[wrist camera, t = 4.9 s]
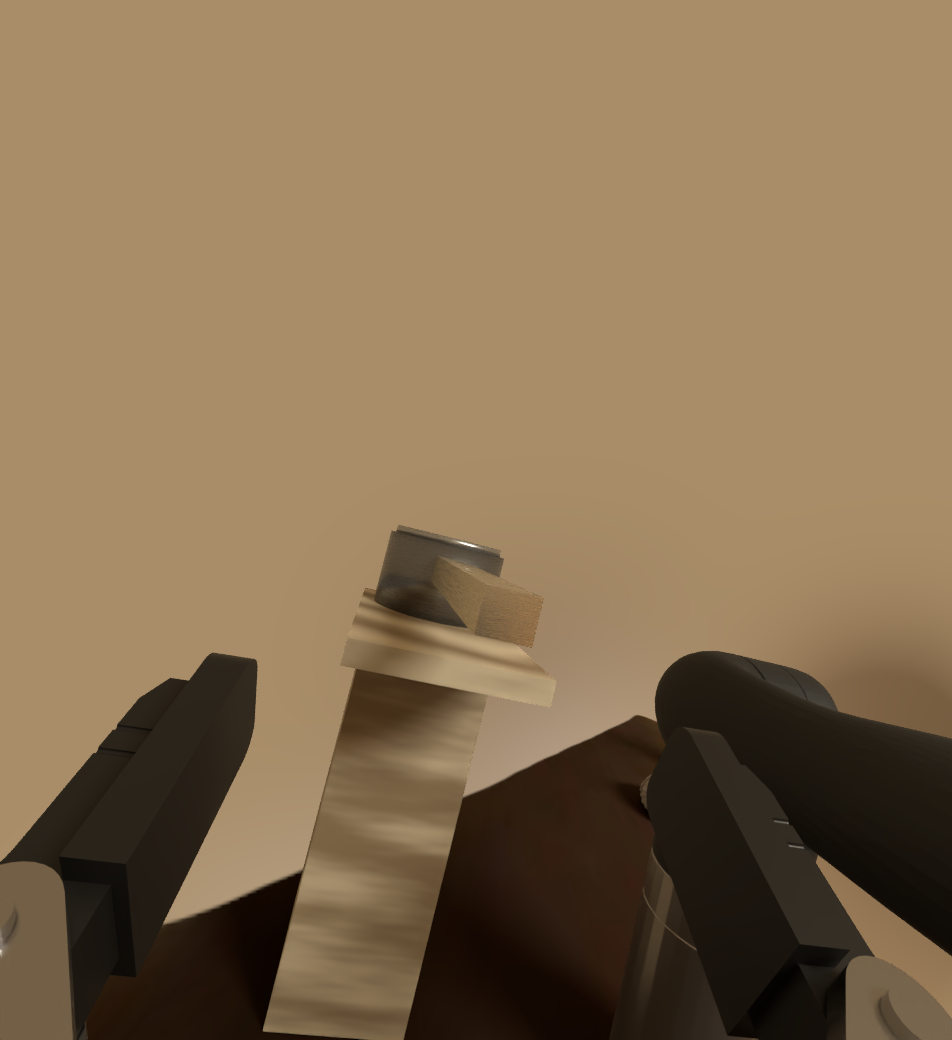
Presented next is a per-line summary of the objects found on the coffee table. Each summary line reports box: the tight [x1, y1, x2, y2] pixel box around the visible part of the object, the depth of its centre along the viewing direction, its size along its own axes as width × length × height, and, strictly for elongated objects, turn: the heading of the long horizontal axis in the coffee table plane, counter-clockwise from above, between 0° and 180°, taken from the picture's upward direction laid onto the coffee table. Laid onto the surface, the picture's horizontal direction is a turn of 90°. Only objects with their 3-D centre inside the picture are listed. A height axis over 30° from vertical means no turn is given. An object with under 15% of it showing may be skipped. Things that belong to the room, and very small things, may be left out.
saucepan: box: [374, 525, 544, 648], centre depth 34 cm, size 29×10×7 cm, turn 9°
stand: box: [263, 588, 557, 1040], centre depth 38 cm, size 22×12×30 cm, turn 9°
